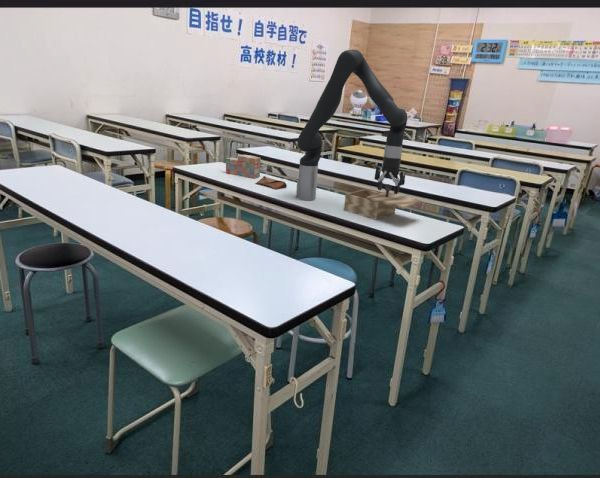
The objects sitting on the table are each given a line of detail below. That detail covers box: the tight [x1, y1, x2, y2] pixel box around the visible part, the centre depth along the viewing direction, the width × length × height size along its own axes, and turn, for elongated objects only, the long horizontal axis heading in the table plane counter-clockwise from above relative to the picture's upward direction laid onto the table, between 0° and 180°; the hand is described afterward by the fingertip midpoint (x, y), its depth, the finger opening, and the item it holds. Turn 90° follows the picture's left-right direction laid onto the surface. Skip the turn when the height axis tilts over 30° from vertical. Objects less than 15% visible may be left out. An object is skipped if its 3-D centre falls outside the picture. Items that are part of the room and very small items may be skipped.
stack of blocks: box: [225, 154, 261, 180], centre depth 263 cm, size 21×6×12 cm, turn 60°
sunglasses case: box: [254, 175, 288, 191], centre depth 245 cm, size 18×7×7 cm, turn 50°
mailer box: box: [343, 188, 397, 221], centre depth 206 cm, size 18×16×8 cm
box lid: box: [366, 184, 423, 210], centre depth 196 cm, size 19×16×7 cm
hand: (387, 191), depth 198 cm, fingers open, 8 cm apart
